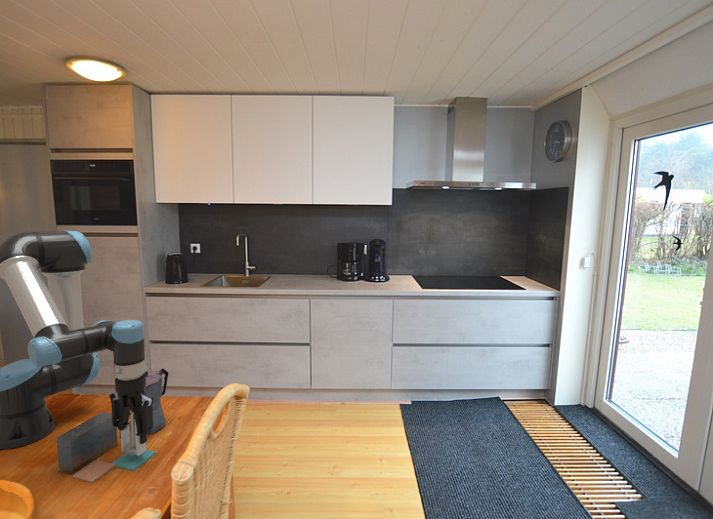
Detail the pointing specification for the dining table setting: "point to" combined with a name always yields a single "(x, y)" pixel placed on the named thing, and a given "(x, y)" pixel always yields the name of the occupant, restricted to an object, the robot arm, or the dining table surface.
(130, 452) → the screw
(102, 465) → the terracotta pad
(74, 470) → the grey unit
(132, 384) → the robot arm
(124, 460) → the teal pad
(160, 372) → the moka pot
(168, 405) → the dining table surface
